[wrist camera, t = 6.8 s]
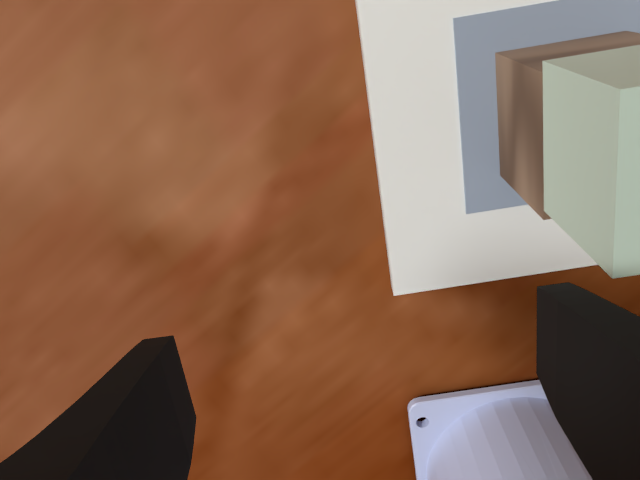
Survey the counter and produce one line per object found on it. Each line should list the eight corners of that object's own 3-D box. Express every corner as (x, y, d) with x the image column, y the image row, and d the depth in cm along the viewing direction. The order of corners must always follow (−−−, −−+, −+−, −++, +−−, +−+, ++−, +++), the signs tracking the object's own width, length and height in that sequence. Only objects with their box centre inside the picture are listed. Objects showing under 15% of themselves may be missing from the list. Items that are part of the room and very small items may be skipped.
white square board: (717, 238, 22) (729, 246, 22) (391, 287, 23) (394, 297, 22) (761, -141, 17) (778, -145, 17) (346, -68, 18) (348, -69, 17)
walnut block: (620, 156, 20) (691, 196, 16) (500, 175, 20) (543, 219, 17) (625, 30, 19) (705, 45, 15) (495, 52, 19) (541, 71, 15)
